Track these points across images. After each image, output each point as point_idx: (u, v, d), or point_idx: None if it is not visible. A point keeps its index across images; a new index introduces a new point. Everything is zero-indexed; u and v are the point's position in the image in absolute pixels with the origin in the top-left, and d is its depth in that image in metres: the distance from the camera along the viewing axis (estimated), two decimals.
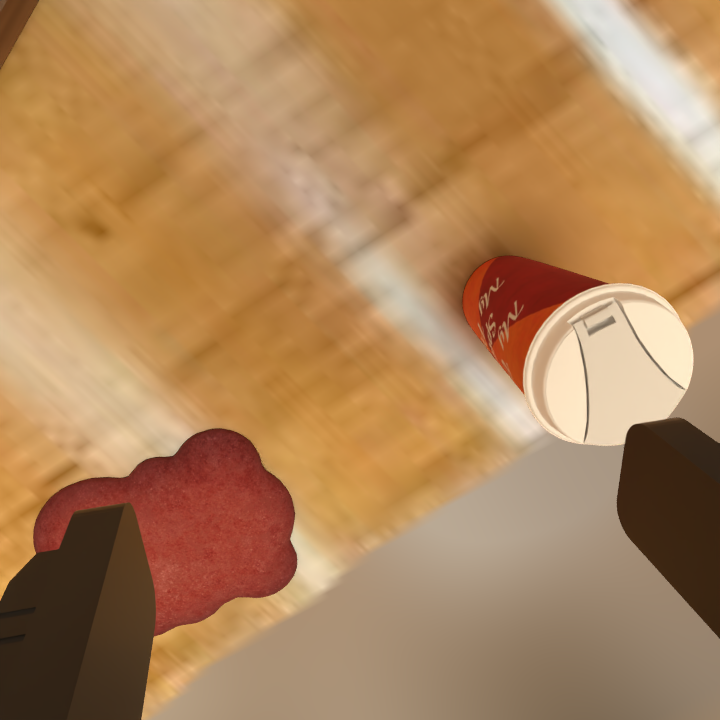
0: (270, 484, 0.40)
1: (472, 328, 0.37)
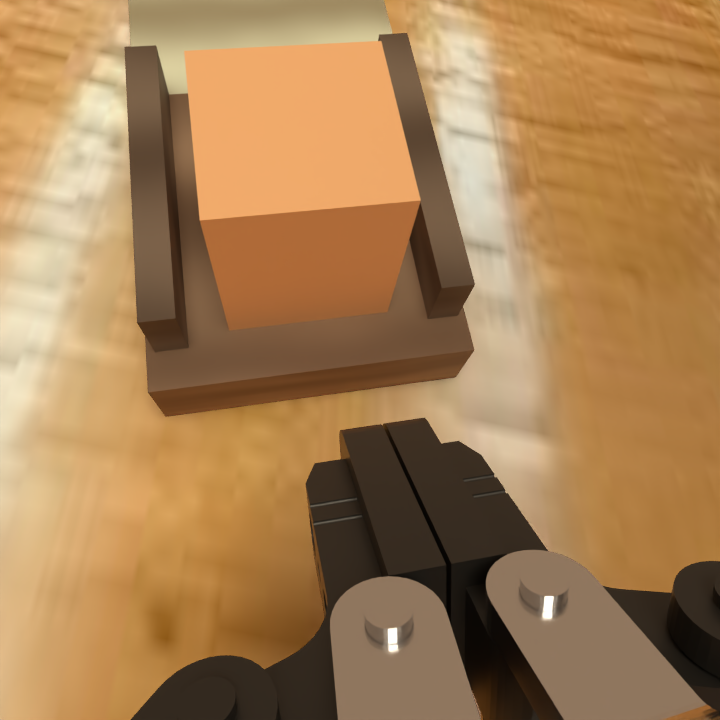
0: None
1: None
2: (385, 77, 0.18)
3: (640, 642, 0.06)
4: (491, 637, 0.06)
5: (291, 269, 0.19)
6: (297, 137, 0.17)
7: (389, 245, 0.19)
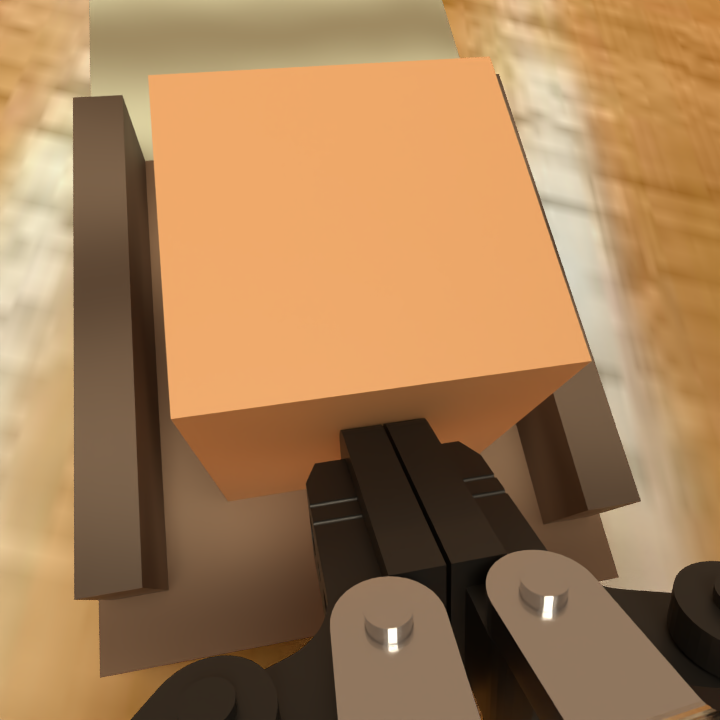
0: None
1: None
2: (502, 120, 0.10)
3: (640, 642, 0.06)
4: (491, 637, 0.06)
5: (335, 447, 0.11)
6: (356, 236, 0.09)
7: (505, 410, 0.11)
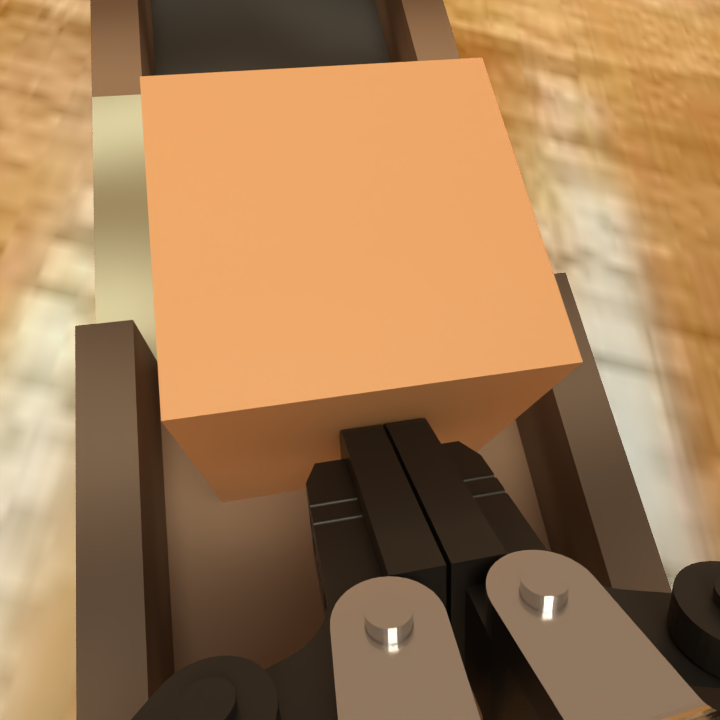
0: None
1: None
2: (494, 122, 0.10)
3: (640, 642, 0.06)
4: (491, 637, 0.06)
5: (328, 448, 0.11)
6: (346, 238, 0.09)
7: (498, 411, 0.11)
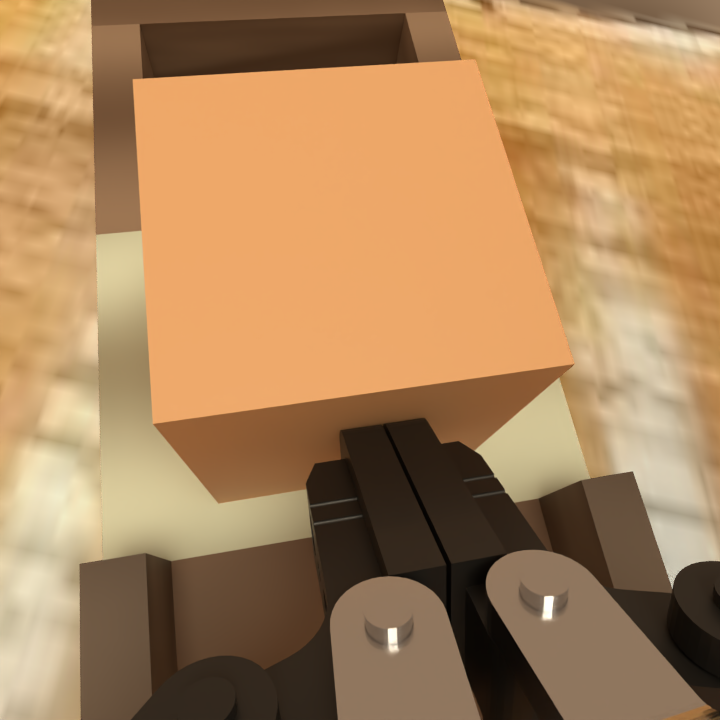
0: None
1: None
2: (488, 124, 0.10)
3: (640, 642, 0.06)
4: (491, 637, 0.06)
5: (322, 449, 0.11)
6: (339, 240, 0.09)
7: (491, 413, 0.11)
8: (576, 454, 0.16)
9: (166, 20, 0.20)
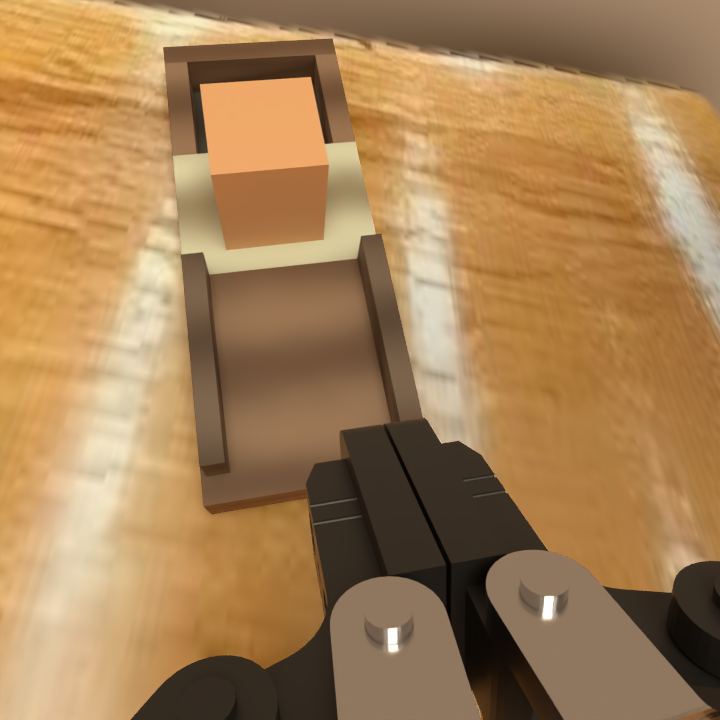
0: None
1: None
2: (312, 98, 0.33)
3: (640, 642, 0.06)
4: (491, 637, 0.06)
5: (261, 206, 0.33)
6: (262, 131, 0.32)
7: (316, 192, 0.33)
8: None
9: (199, 60, 0.42)
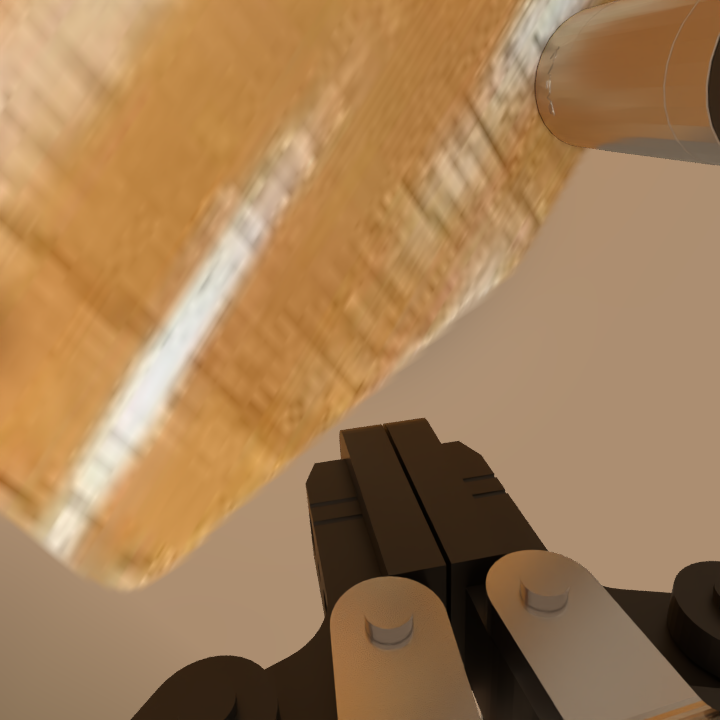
0: None
1: None
2: None
3: (640, 642, 0.06)
4: (491, 637, 0.06)
5: None
6: None
7: None
8: None
9: None
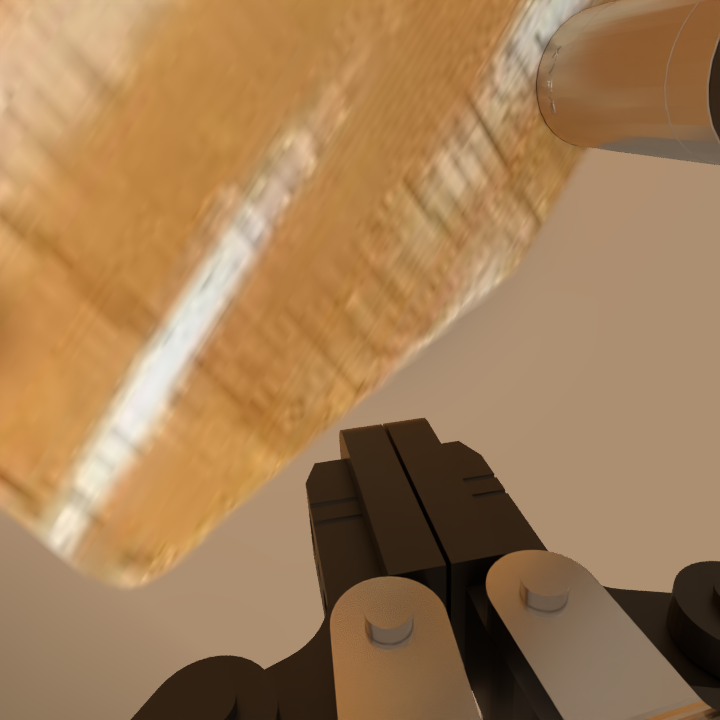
0: None
1: None
2: None
3: (640, 642, 0.06)
4: (491, 637, 0.06)
5: None
6: None
7: None
8: None
9: None
